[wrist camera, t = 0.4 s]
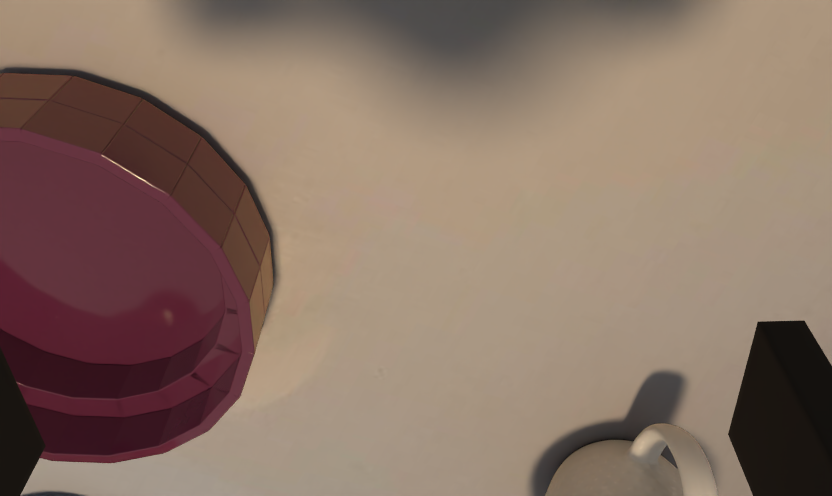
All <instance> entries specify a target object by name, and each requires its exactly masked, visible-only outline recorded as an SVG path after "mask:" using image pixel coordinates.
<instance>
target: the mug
mask: <svg viewBox="0 0 832 496" xmlns="http://www.w3.org/2000/svg"><path fill="white" fill-rule="evenodd" d="M667 445H668V447H669V449H670V451H671V453H672V455H673V457H674V459H675V462H676V464H677V468H678V469H677V468H676V467H674V466H673V465H672V464H671V463H670V462H669V461H668V460H667V459H665V458H664V457H663V456H662V455H660V454H661V453H662V451H663V449H664V448H665V447H666V446H667ZM545 496H718V492H717V487H716V483H715V479H714V475H713V472H712V469H711V466H710V464H709V461H708V459H707V457H706V455H705V453H704V452H703V450H702V448H701V446H700V445H699V443H698V442H697V441H696V440H695V438H694V437H693V436H692V435H690V434H689V433H688V432H687V431H685V430H684V429H682V428H680V427H677V426H674V425H670V424H664V423H659V424H653V425H650V426H648V427H646V428H645V429H644V430H643V431H642V432H641V433H640V434H639V435H638V436H637V437H636V439H635V440H634V442H633V441H626V440H605V441H600V442H595V443H592V444H589V445H586V446H584V447H582V448H580V449H579V450H577V451H575V452H574V453H572V454H571V455H570V456H569V457H568V458H567V459H566V460H565V461H564V462H563V463H562V464H561V465H560V467H559V468H558V470H557V471H556V473H555V475H554V476H553V478H552V481H551V483H550V485H549V487H548V490H547V492H546V494H545Z"/></svg>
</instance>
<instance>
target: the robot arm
mask: <svg viewBox="0 0 832 496" xmlns="http://www.w3.org/2000/svg"><path fill="white" fill-rule="evenodd" d="M728 435H729V437H730V440H731V442H732V445H733V447H734V450H735V452H736V455H737V457H738V459H739V462H740V464H741V467H742V469H743V472H744V474H745V477H746V479H747V482H748V484H749V486H750V489H751V491H752V494H753V496H832V366H831V364H830V362H829V361H828V359H827V357H826V356H825V354H824V353H823V351H822V349H821V348H820V346H819V344H818V343H817V341H816V339H815V338H814V336H813V334H812V333H811V331H810V329H809V328H808V326H807V325H806V323H805V321H770V322H758V323H757V327H756V331H755V335H754V339H753V342H752V346H751V350H750V354H749V358H748V361H747V365H746V369H745V373H744V376H743V380H742V384H741V388H740V392H739V395H738V399H737V403H736V407H735V411H734V414H733V418H732V422H731V426H730V430H729V433H728ZM45 447H46V445H45V443H44V441H43V439H42V437H41V434H40V432H39V430H38V428H37V426H36V424H35V421H34V419H33V417H32V415H31V413H30V411H29V408H28V406H27V404H26V402H25V400H24V397H23V395H22V393H21V391H20V389H19V387H18V384H17V382H16V380H15V378H14V376H13V374H12V371H11V369H10V367H9V365H8V363H7V360H6V358H5V356H4V354H3V352H2V350H1V347H0V496H20V494H21V492H22V491H23V489H24V487H25V485H26V483H27V481H28V479H29V477H30V475H31V473H32V471H33V469H34V468H35V466H36V464H37V462H38V460H39V458H40V456H41V454H42V452H43V450H44V448H45Z"/></svg>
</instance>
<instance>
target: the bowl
mask: <svg viewBox="0 0 832 496" xmlns="http://www.w3.org/2000/svg"><path fill="white" fill-rule="evenodd" d="M273 284H274V283H273V271H272V259H271V247H270V237H269V233H268V231H267V229H266V227H265V225H264V223H263V220H262V218H261V216H260V214H259V212H258V210H257V208H256V205H255V203H254V201H253V199H252V197H251V195H250V192H249V190H248V188H247V186H246V185H245V183H244V182H243V181H242V180H241V179H240V178H239V177H238V176H237V174H236V173H235V172H234V171H233V170H232V169H231V168H230V167H229V166H228V165H227V163H226V162H225V161H224V160H223V159H222V158H221V157H220V156H219V155H218V153H217V152H216V151H215V150H214V149H213V148H212V147H211V146H210V145H209V143H208V142H207V141H206V140H205V139H204V138H203V137H202V138H201V136H200V135H199V134H197V133H196V132H194V131H193V130H191V129H190V128H188V127H186V126H185V125H183V124H182V123H180V122H179V121H177V120H176V119H174V118H172V117H171V116H169V115H168V114H166V113H165V112H163V111H162V110H160V109H158V108H157V107H155V106H154V105H152V104H151V103H149V102H148V101H146V100H144V99H143V100H142V98H141V97H138V96H135V95H132V94H128V93H125V92H122V91H119V90H116V89H113V88H110V87H107V86H104V85H101V84H98V83H95V82H92V81H89V80H86V79H82V78H79V77H76V76H74V77H73V76H68V75H43V74H19V73H2V74H0V347H1V350H2V352H3V354H4V356H5V358H6V360H7V363H8V365H9V367H10V369H11V371H12V374H13V376H14V378H15V380H16V382H17V384H18V387H19V389H20V391H21V393H22V395H23V397H24V400H25V402H26V404H27V406H28V408H29V411H30V413H31V415H32V417H33V419H34V421H35V424H36V426H37V428H38V430H39V432H40V434H41V437H42V439H43V441H44V443H45V445H46V447H45V448H44V450H43V452H42V454H41V456H40V458H43V459H47V460H51V461H67V462H94V463H116V462H121V461H126V460H131V459H137V458H142V457H147V456H152V455H157V454H163V453H166V452H168V451H170V450H172V449H174V448H176V447H178V446H180V445H182V444H184V443H186V442H188V441H190V440H192V439H194V438H196V437H198V436H200V435H202V434H204V433H206V432H207V431H208V430H210V429H211V428H212V427H213V426H214V425H215V424H216V422H217V421H218V420H219V419H220V418H221V417H222V416H223V415H224V414H225V413H226V412H227V411H228V409H229V408H230V407H231V406H232V405H233V404H234V403H235V402H236V401H237V400H238V399H239V398H240V396H241V393H242V390H243V387H244V384H245V381H246V378H247V375H248V372H249V369H250V366H251V363H252V360H253V357H254V354H255V351H256V347H257V343H258V340H259V336H260V333H261V329H262V325H263V322H264V318H265V314H266V311H267V307H268V303H269V300H270V296H271V293H272V289H273Z"/></svg>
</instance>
